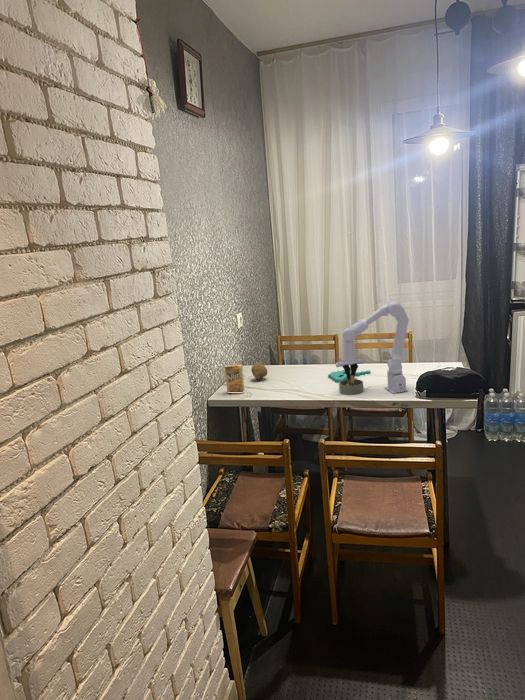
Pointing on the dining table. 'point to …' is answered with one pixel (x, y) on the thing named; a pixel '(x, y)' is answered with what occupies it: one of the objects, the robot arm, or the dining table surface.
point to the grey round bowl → (351, 387)
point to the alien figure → (344, 375)
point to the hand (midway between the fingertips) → (350, 378)
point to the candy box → (234, 378)
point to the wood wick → (351, 380)
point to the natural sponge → (259, 371)
